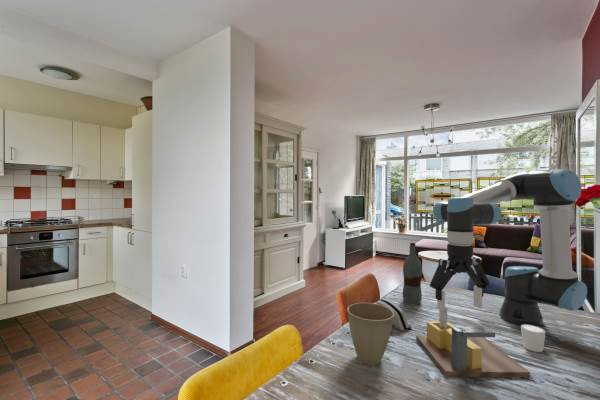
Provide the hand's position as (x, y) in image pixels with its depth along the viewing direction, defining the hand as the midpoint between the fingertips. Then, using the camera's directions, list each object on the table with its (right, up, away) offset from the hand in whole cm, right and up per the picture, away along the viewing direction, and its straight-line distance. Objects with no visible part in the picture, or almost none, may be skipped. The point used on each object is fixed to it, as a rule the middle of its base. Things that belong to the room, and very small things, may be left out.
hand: (459, 308), depth 95 cm
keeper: (0, -17, -8) cm, 18 cm away
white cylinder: (+30, -17, +8) cm, 36 cm away
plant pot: (-30, -17, 0) cm, 34 cm away
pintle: (-2, -17, +8) cm, 18 cm away
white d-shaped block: (-13, -17, +28) cm, 35 cm away
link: (-1, -15, +2) cm, 15 cm away
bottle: (+4, -16, +52) cm, 54 cm away
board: (+3, -17, +2) cm, 17 cm away
